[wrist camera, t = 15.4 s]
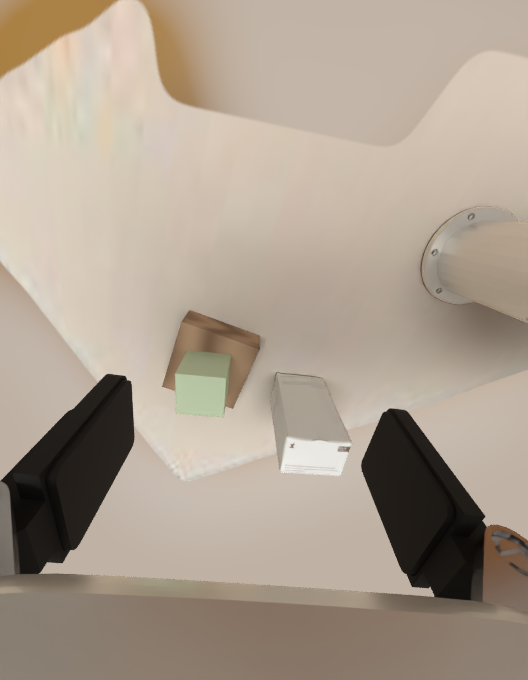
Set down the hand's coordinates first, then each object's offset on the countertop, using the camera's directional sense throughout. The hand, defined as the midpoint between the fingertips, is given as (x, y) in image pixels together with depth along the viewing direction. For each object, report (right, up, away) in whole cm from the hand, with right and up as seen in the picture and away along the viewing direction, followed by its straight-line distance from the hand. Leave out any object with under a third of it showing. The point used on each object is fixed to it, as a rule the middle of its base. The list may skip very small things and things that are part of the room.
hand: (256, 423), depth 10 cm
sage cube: (-8, -1, +29) cm, 30 cm away
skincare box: (+6, -5, +36) cm, 37 cm away
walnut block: (-8, +1, +33) cm, 34 cm away
